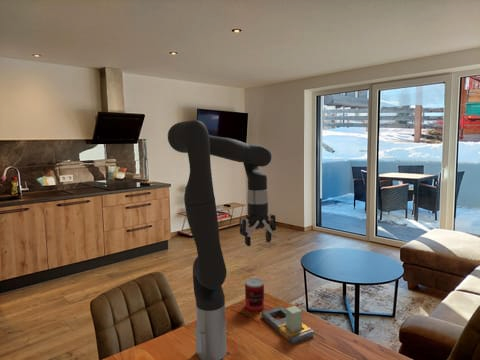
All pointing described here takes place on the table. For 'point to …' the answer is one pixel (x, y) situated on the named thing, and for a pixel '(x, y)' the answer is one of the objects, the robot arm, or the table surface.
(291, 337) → the grey yellow flat board
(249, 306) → the canned food
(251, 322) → the table surface
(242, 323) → the table surface
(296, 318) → the sage block
